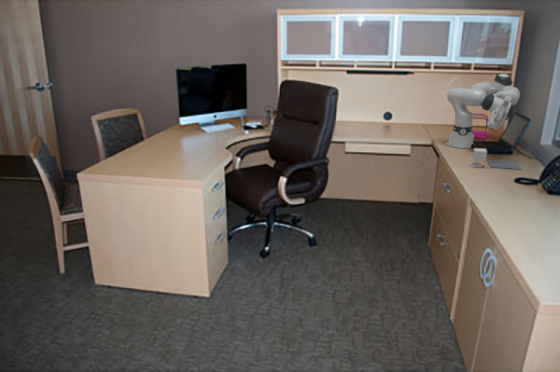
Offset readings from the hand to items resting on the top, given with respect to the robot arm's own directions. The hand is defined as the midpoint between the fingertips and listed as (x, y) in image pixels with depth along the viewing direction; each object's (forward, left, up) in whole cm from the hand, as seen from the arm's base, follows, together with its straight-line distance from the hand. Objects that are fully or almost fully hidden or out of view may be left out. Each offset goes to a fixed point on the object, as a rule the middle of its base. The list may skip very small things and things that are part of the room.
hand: (502, 108), depth 260 cm
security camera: (+11, -11, -33) cm, 36 cm away
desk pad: (+5, +4, -33) cm, 33 cm away
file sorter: (-77, -5, -33) cm, 84 cm away
